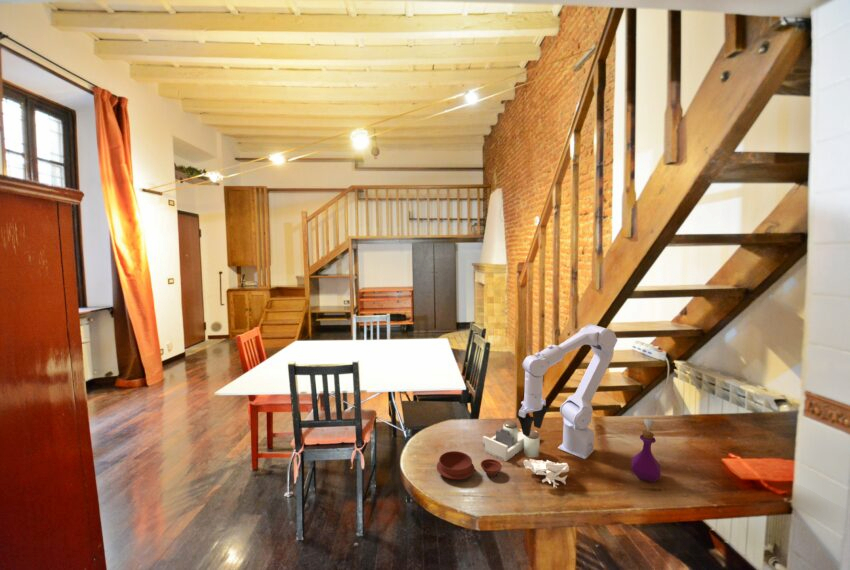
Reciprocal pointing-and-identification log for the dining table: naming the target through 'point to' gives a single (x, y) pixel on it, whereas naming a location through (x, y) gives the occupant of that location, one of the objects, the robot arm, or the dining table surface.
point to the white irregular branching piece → (548, 470)
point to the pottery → (464, 465)
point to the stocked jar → (512, 429)
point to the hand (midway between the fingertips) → (531, 431)
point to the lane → (503, 447)
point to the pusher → (505, 437)
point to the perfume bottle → (646, 457)
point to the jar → (531, 444)
